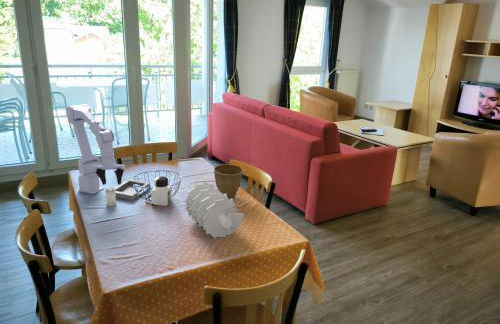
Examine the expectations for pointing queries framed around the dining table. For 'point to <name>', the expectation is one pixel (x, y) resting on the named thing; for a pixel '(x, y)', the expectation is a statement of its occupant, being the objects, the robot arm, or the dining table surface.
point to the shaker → (110, 196)
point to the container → (161, 191)
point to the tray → (129, 189)
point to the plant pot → (228, 179)
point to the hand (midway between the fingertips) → (112, 184)
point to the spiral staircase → (213, 210)
